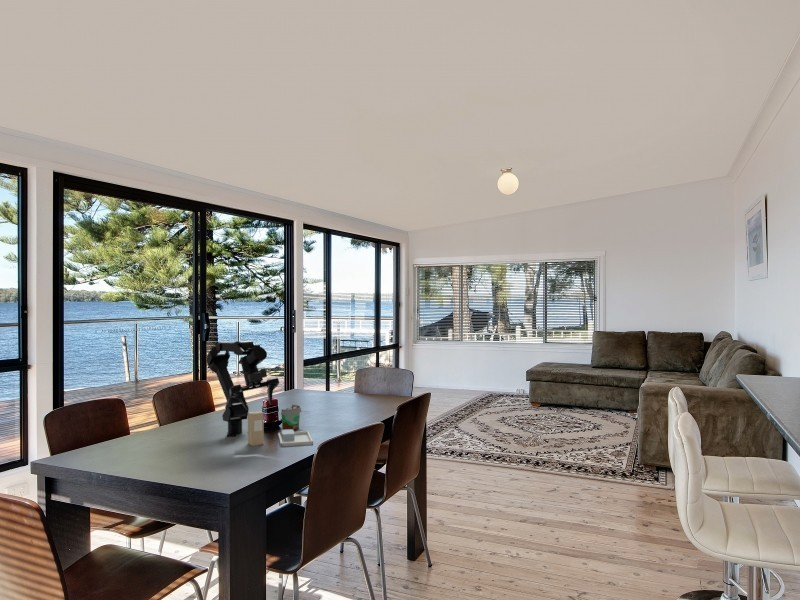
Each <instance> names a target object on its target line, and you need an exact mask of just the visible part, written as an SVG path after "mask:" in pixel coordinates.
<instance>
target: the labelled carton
mask: <svg viewBox="0 0 800 600" xmlns="http://www.w3.org/2000/svg"><path fill="white" fill-rule="evenodd" d="M264 414H265V413H264V412H262V411H260V410H259V411H252V412H251V411H248V416H247V444H248V445H250V446H252V447H253V446H254V447H255V446H260V445H264V443H265V440H264V439H265V436H264V435H265V432H264V431H265V430H264V426H265V424H264V418H265V415H264Z"/></svg>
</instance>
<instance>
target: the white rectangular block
mask: <svg viewBox="0 0 800 600" xmlns="http://www.w3.org/2000/svg"><path fill="white" fill-rule="evenodd" d="M294 432H295V430H293V429H290V430H282V429H281V433H282V440H283V441H289V440H295V434H294Z"/></svg>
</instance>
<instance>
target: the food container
mask: <svg viewBox="0 0 800 600" xmlns="http://www.w3.org/2000/svg"><path fill="white" fill-rule="evenodd" d="M301 412H302V407H301V406H300V405H298V404H291V407H287V408H286V409H281V410H280V415H281V422H282V423H281V426H282V428H281V431H282V430H290V429H293V431H298V430H299V429H300V428H299V427H300V417H301V416H300V415H301Z"/></svg>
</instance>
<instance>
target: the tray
mask: <svg viewBox="0 0 800 600" xmlns="http://www.w3.org/2000/svg"><path fill="white" fill-rule="evenodd" d="M294 434H295V440H289V441H283V440H282V432H278V434H277V437H278V441H279V445H280V448H282V447H297V446H298V447H299V446H312V445H314V440H313V438H312V436H311V434H310V432H309V430H302V431H298V430H297V431H294Z"/></svg>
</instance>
